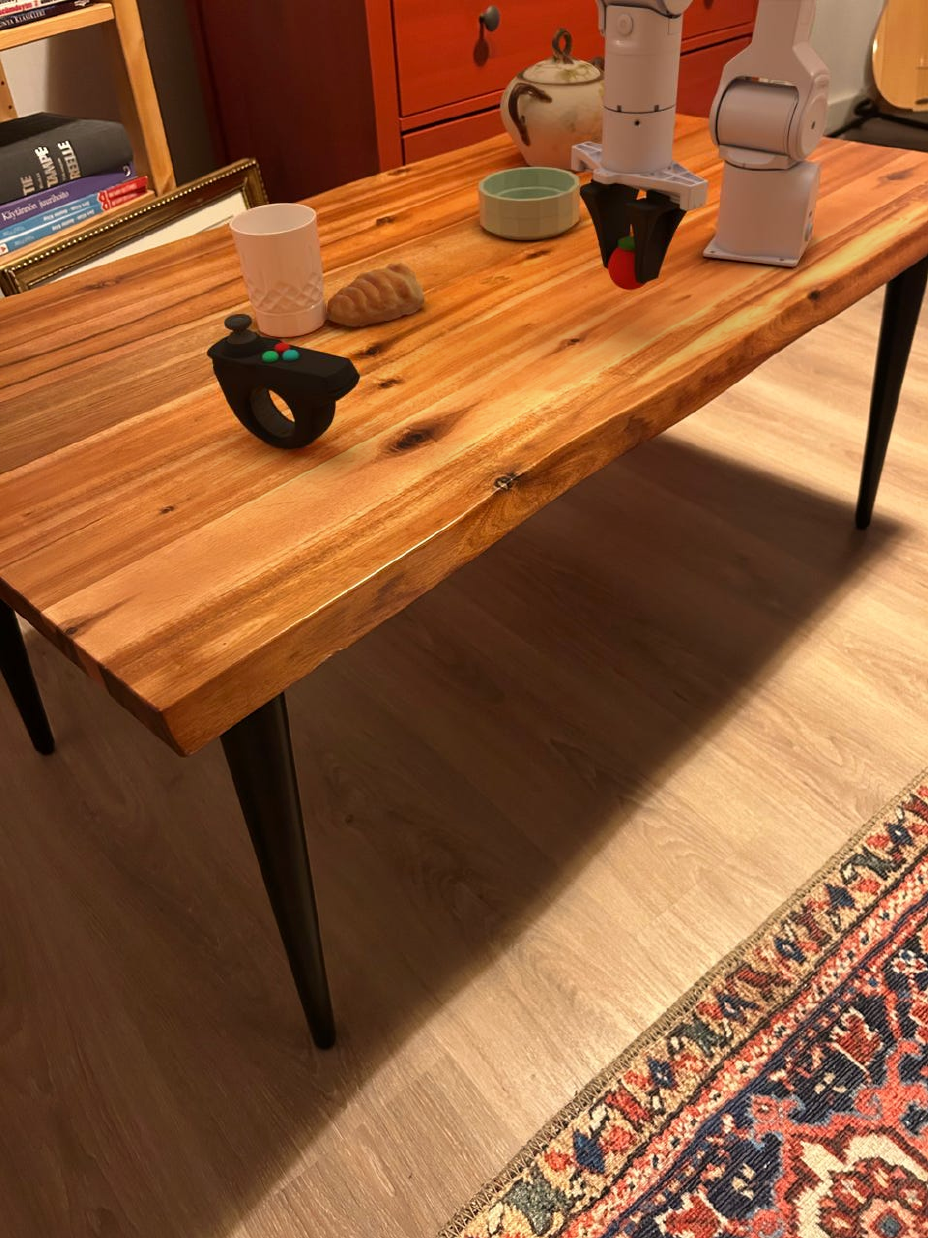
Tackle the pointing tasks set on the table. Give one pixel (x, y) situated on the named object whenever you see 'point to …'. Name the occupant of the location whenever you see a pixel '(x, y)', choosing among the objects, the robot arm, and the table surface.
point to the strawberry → (624, 265)
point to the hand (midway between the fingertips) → (630, 271)
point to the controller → (279, 384)
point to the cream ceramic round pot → (555, 106)
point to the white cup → (281, 267)
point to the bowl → (529, 202)
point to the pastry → (377, 297)
